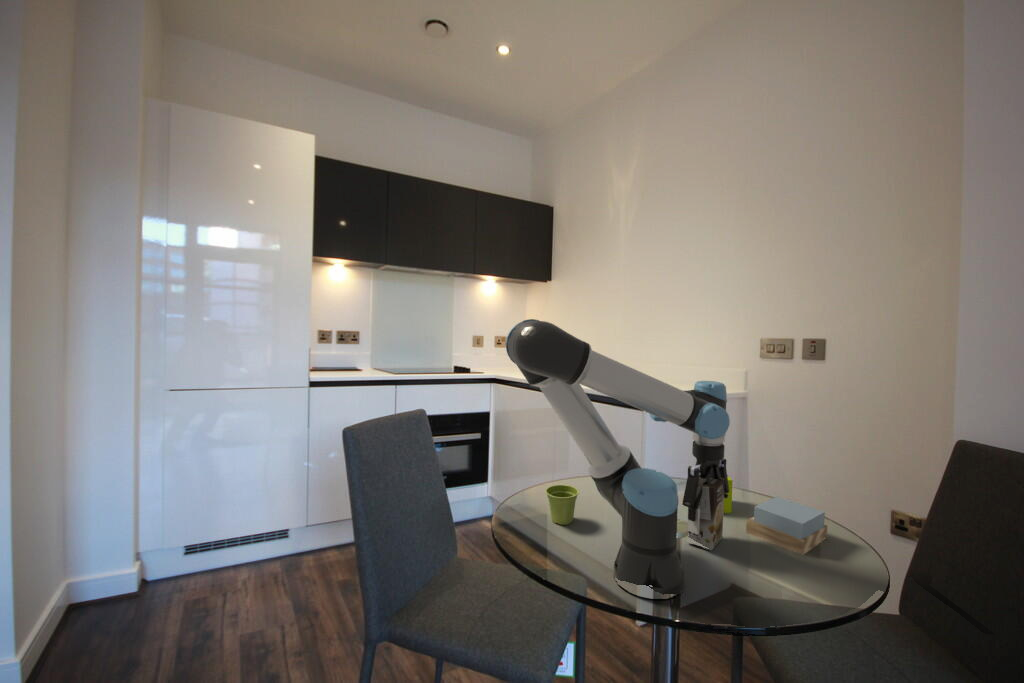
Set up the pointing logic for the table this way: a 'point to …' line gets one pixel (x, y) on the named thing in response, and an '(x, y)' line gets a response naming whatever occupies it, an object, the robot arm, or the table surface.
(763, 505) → the slate-blue top slab
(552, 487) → the plant pot
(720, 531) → the coffee box
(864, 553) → the table surface
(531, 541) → the table surface
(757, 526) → the oak base slab
